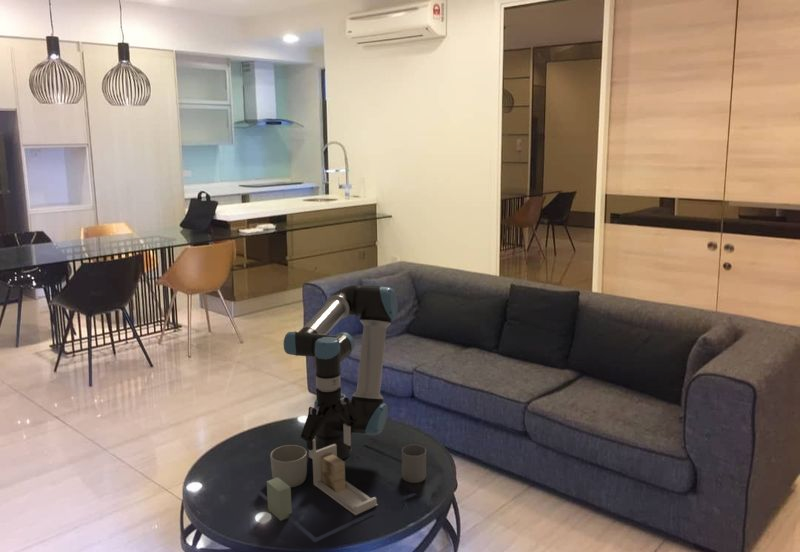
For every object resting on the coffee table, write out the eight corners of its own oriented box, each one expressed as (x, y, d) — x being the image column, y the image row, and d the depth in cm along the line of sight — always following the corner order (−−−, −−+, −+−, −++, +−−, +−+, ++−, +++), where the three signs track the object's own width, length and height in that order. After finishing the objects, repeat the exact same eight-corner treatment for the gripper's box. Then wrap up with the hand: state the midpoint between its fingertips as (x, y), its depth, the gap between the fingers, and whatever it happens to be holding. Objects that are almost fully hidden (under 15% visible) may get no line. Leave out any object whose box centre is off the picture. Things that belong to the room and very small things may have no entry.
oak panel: (322, 483, 223) (321, 456, 221) (331, 479, 226) (331, 452, 223) (335, 493, 217) (334, 465, 215) (345, 489, 220) (344, 461, 217)
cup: (423, 483, 224) (423, 457, 222) (400, 481, 226) (399, 455, 224) (427, 471, 233) (427, 445, 230) (404, 469, 234) (404, 443, 232)
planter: (291, 495, 218) (290, 465, 215) (264, 485, 224) (262, 456, 222) (315, 479, 228) (314, 450, 226) (288, 469, 234) (287, 441, 232)
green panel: (268, 509, 210) (266, 481, 208) (279, 505, 212) (277, 477, 210) (280, 520, 204) (279, 491, 202) (291, 515, 206) (290, 487, 204)
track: (313, 486, 223) (312, 451, 220) (335, 477, 229) (334, 443, 226) (355, 518, 205) (354, 480, 202) (378, 507, 211) (377, 470, 208)
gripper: (301, 402, 190) (304, 469, 195) (367, 380, 207) (368, 442, 212) (287, 395, 196) (290, 460, 200) (352, 374, 212) (353, 434, 217)
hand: (330, 451), depth 206 cm, fingers open, 13 cm apart
